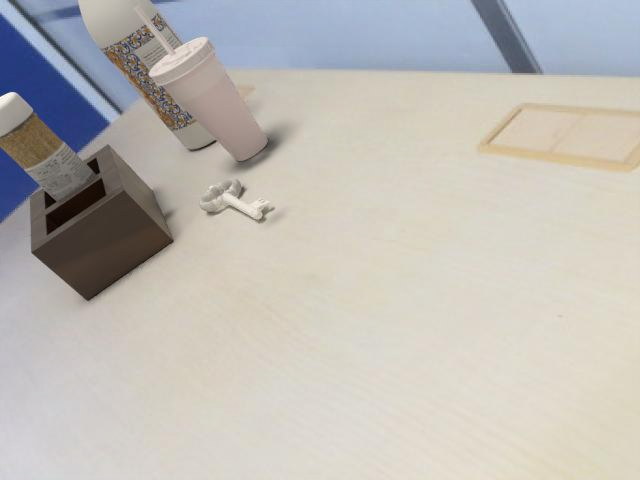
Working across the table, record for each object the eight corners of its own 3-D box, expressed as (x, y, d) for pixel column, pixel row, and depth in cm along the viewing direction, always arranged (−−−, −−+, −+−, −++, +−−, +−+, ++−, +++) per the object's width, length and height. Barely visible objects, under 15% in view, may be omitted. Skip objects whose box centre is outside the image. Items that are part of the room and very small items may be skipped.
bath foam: (186, 139, 85) (25, -49, 71) (237, 107, 85) (88, -87, 71) (188, 159, 80) (16, -38, 66) (242, 125, 80) (83, -80, 66)
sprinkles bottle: (113, 221, 77) (-11, 99, 67) (145, 209, 75) (23, 83, 66) (91, 248, 74) (-41, 126, 64) (124, 237, 73) (-7, 110, 63)
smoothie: (255, 131, 78) (149, -8, 67) (290, 129, 74) (183, -19, 64) (213, 170, 75) (95, 31, 65) (247, 169, 71) (128, 23, 61)
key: (233, 181, 70) (197, 208, 69) (226, 172, 70) (190, 199, 69) (282, 204, 63) (242, 236, 62) (274, 195, 62) (234, 226, 61)
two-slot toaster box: (77, 240, 77) (29, 196, 73) (152, 190, 78) (108, 143, 74) (87, 301, 66) (30, 252, 62) (173, 240, 67) (123, 189, 63)
